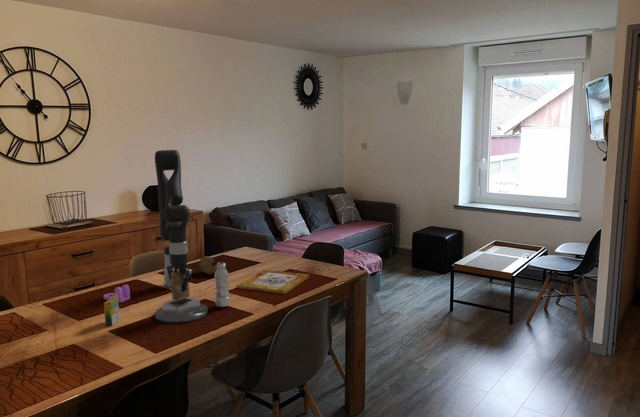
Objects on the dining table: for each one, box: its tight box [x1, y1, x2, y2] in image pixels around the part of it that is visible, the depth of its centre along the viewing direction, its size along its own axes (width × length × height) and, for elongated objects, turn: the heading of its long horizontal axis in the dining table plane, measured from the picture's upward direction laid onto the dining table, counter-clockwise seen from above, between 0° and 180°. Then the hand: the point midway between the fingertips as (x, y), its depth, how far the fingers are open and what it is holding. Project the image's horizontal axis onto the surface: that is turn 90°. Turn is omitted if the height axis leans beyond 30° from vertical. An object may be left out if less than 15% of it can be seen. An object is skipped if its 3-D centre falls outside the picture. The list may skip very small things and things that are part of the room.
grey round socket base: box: [154, 296, 209, 324], centre depth 214 cm, size 22×22×6 cm
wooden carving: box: [198, 255, 218, 275], centre depth 275 cm, size 16×5×10 cm, turn 58°
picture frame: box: [236, 269, 310, 295], centre depth 258 cm, size 27×2×30 cm
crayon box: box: [103, 293, 121, 327], centre depth 204 cm, size 7×3×12 cm, turn 178°
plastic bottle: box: [213, 261, 231, 308], centre depth 221 cm, size 6×7×20 cm
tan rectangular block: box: [171, 271, 190, 300], centre depth 212 cm, size 4×6×12 cm, turn 148°
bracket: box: [103, 284, 131, 303], centre depth 234 cm, size 13×6×7 cm, turn 64°
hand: (180, 290), depth 212 cm, fingers closed on tan rectangular block, 4 cm apart
